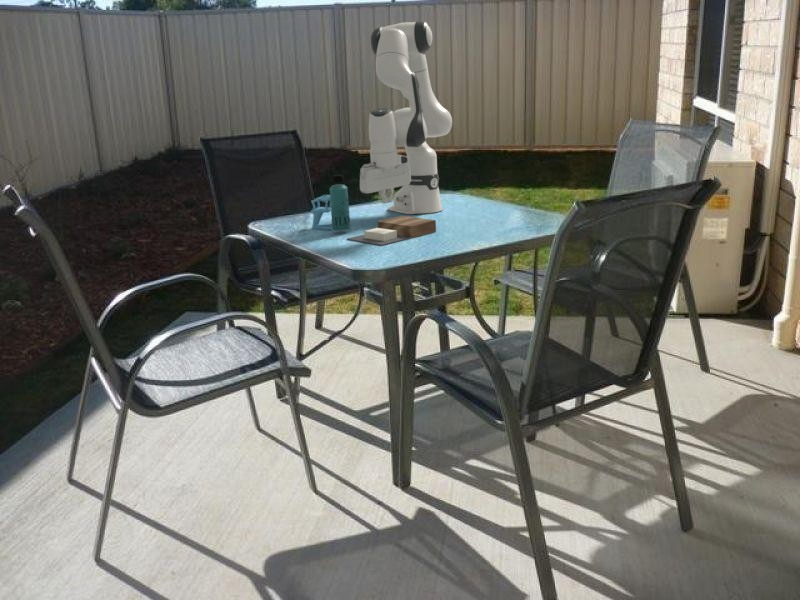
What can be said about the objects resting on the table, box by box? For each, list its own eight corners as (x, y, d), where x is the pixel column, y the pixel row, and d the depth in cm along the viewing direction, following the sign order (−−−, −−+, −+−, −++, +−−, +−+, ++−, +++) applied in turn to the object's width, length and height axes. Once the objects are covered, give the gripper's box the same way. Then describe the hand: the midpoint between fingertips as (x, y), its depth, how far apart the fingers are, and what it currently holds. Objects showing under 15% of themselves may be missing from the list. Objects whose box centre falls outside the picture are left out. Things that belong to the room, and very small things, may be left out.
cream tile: (377, 227, 276) (377, 234, 277) (364, 231, 272) (364, 238, 273) (396, 230, 270) (397, 237, 271) (383, 233, 266) (384, 241, 267)
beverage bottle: (333, 235, 282) (329, 176, 276) (331, 231, 288) (326, 174, 282) (352, 233, 283) (348, 175, 277) (349, 230, 289) (345, 173, 284)
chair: (317, 226, 300) (314, 193, 296) (338, 226, 298) (336, 192, 294) (309, 230, 293) (306, 196, 289) (331, 230, 290) (328, 196, 287)
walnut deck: (378, 232, 282) (377, 221, 281) (403, 226, 290) (402, 215, 289) (410, 238, 271) (410, 226, 270) (436, 231, 279) (435, 220, 278)
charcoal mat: (347, 239, 274) (346, 238, 274) (375, 232, 282) (375, 231, 282) (381, 245, 262) (381, 244, 262) (410, 238, 270) (410, 237, 270)
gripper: (367, 165, 259) (370, 209, 263) (412, 156, 272) (415, 198, 276) (353, 164, 263) (357, 207, 267) (399, 155, 276) (402, 196, 281)
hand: (387, 202), depth 272 cm, fingers closed
